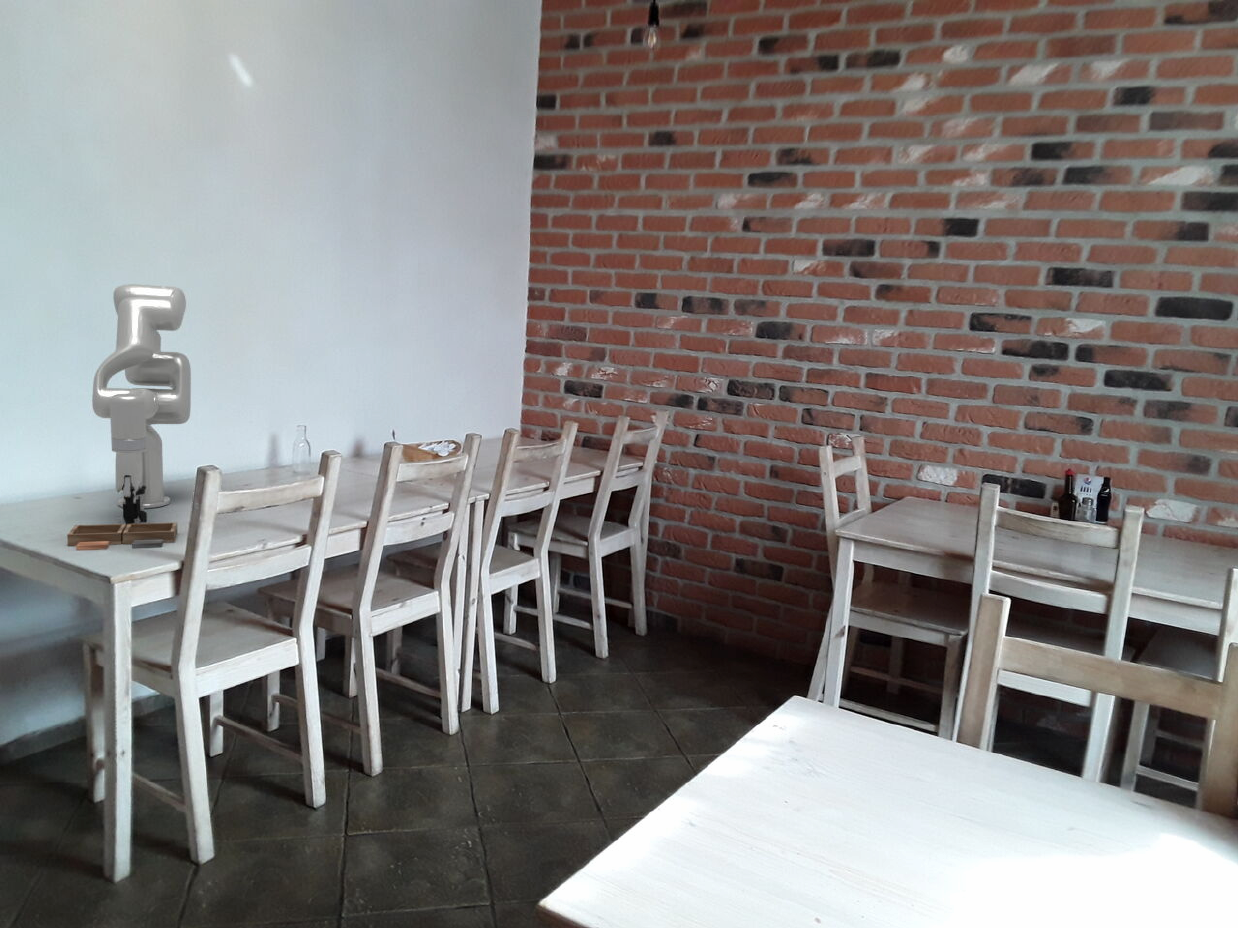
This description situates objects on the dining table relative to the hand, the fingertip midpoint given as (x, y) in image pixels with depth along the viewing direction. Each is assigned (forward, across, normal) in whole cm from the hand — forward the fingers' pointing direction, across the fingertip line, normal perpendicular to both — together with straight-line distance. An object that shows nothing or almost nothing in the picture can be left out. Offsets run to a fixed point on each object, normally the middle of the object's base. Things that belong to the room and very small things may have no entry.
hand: (132, 515), depth 217 cm
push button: (+2, 0, 0) cm, 2 cm away
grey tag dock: (+2, +15, +5) cm, 16 cm away
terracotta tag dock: (+2, +15, -5) cm, 16 cm away
